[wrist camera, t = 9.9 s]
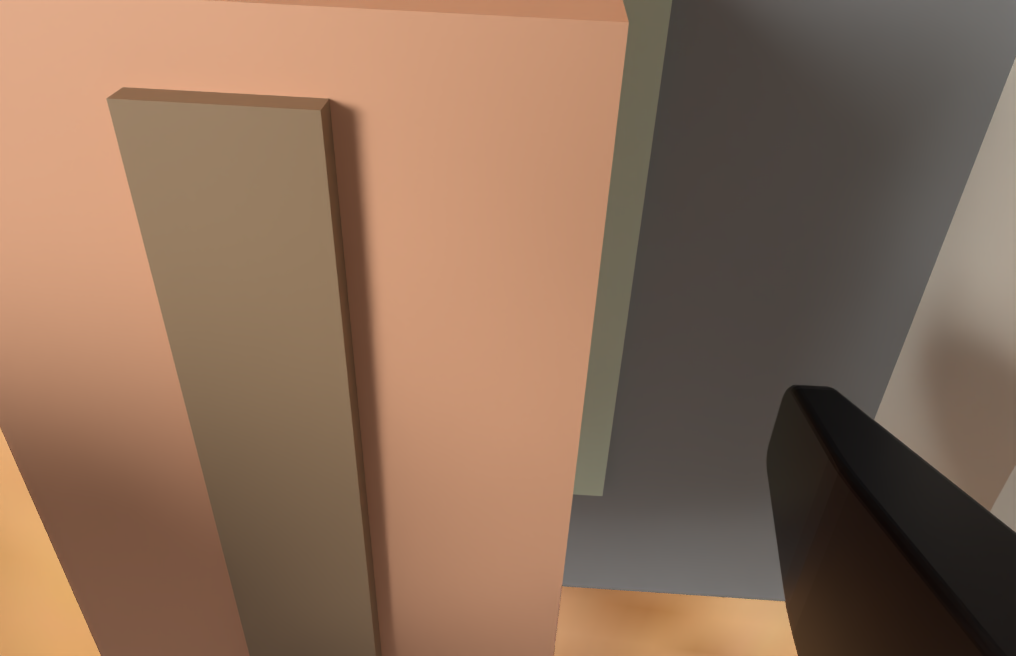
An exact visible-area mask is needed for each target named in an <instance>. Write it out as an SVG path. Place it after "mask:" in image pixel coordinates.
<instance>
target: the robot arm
mask: <svg viewBox="0 0 1016 656" xmlns="http://www.w3.org/2000/svg"><path fill="white" fill-rule="evenodd" d="M766 467H767V476H768V483H769V490H770V498H771V505H772V512H773V519H774V526H775V533H776V541H777V548H778V555H779V562H780V569H781V576H782V583H783V590H784V596H785V602H786V608H787V613H788V618H789V622H790V626H791V630H792V635H793V639H794V642H795V646H796V650H797V654H798V656H1016V532H1015V531H1013V530H1012V529H1011V528H1010V527H1008V526H1007V525H1006V524H1005V523H1003V522H1002V521H1001V520H1000V519H998V518H997V517H996V516H995V515H993V514H992V513H991V512H990V511H988V510H987V509H986V508H985V507H983V506H982V505H981V504H979V503H978V502H977V501H976V500H974V499H973V498H972V497H971V496H969V495H968V494H967V493H966V492H964V491H963V490H962V489H961V488H959V487H958V486H957V485H956V484H954V483H953V482H952V481H951V480H949V479H948V478H947V477H945V476H944V475H943V474H942V473H940V472H939V471H938V470H937V469H935V468H934V467H933V466H932V465H930V464H929V463H928V462H927V461H925V460H924V459H923V458H922V457H920V456H919V455H918V454H917V453H915V452H914V451H913V450H911V449H910V448H909V447H908V446H906V445H905V444H904V443H903V442H901V441H900V440H899V439H898V438H896V437H895V436H894V435H893V434H891V433H890V432H889V431H888V430H886V429H885V428H884V427H883V426H881V425H880V424H879V423H877V422H876V421H875V420H874V419H872V418H871V417H870V416H869V415H867V414H866V413H865V412H864V411H862V410H861V409H860V408H859V407H857V406H856V405H855V404H854V403H852V402H851V401H850V400H849V399H847V398H846V397H845V396H843V395H842V394H841V393H840V392H838V391H837V390H835V389H834V388H831V387H828V386H812V385H792V386H791V387H789V388H787V390H786V391H785V393H784V395H783V397H782V400H781V404H780V407H779V410H778V414H777V417H776V421H775V424H774V427H773V431H772V434H771V438H770V441H769V444H768V449H767V458H766Z"/></svg>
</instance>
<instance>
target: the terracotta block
mask: <svg viewBox="0 0 1016 656" xmlns="http://www.w3.org/2000/svg"><path fill="white" fill-rule="evenodd" d="M628 26H629V21H628V17H627V14H626V10H625V7H624V3H623V0H0V427H1V430H2V432H3V434H4V437H5V439H6V441H7V443H8V446H9V448H10V450H11V452H12V455H13V457H14V459H15V461H16V464H17V466H18V468H19V471H20V473H21V475H22V477H23V480H24V482H25V484H26V486H27V489H28V491H29V493H30V496H31V498H32V500H33V502H34V505H35V507H36V509H37V511H38V514H39V516H40V518H41V520H42V523H43V525H44V527H45V530H46V532H47V534H48V536H49V539H50V541H51V543H52V545H53V548H54V550H55V552H56V554H57V557H58V559H59V561H60V564H61V566H62V568H63V570H64V573H65V575H66V577H67V579H68V582H69V584H70V586H71V589H72V591H73V593H74V595H75V598H76V600H77V602H78V604H79V607H80V609H81V611H82V613H83V616H84V618H85V620H86V623H87V625H88V627H89V629H90V632H91V634H92V636H93V638H94V641H95V643H96V645H97V647H98V650H99V652H100V654H101V656H554V650H555V641H556V633H557V624H558V616H559V607H560V599H561V591H562V582H563V574H564V565H565V557H566V549H567V540H568V532H569V523H570V515H571V506H572V498H573V490H574V481H575V473H576V464H577V456H578V447H579V439H580V431H581V422H582V414H583V405H584V397H585V389H586V380H587V372H588V363H589V355H590V346H591V338H592V330H593V321H594V313H595V304H596V296H597V287H598V279H599V271H600V262H601V254H602V245H603V237H604V228H605V220H606V212H607V203H608V195H609V186H610V178H611V170H612V161H613V153H614V144H615V136H616V127H617V119H618V111H619V102H620V94H621V85H622V77H623V68H624V60H625V52H626V43H627V35H628Z"/></svg>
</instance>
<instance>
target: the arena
mask: <svg viewBox="0 0 1016 656" xmlns="http://www.w3.org/2000/svg"><path fill="white" fill-rule="evenodd" d="M623 3H624V7H625V10H626V14H627V17H628V21H629V26H628V35H627V43H626V52H625V60H624V68H623V77H622V85H621V94H620V102H619V111H618V119H617V127H616V136H615V144H614V153H613V161H612V170H611V178H610V186H609V195H608V203H607V212H606V220H605V228H604V237H603V245H602V254H601V262H600V271H599V279H598V287H597V296H596V304H595V313H594V321H593V330H592V338H591V346H590V355H589V363H588V372H587V380H586V389H585V397H584V405H583V414H582V422H581V431H580V439H579V447H578V456H577V464H576V473H575V481H574V490H573V498H572V506H571V515H570V523H569V532H568V540H567V549H566V557H565V565H564V574H563V582H562V586H567V587H582V588H597V589H612V590H627V591H642V592H656V593H671V594H686V595H701V596H716V597H731V598H745V599H760V600H775V601H785V596H784V590H783V583H782V576H781V569H780V562H779V555H778V548H777V541H776V533H775V526H774V519H773V512H772V505H771V498H770V490H769V483H768V476H767V467H766V458H767V449H768V444H769V441H770V438H771V434H772V431H773V427H774V424H775V421H776V417H777V414H778V410H779V407H780V404H781V400H782V397H783V395H784V393H785V391H786V390H787V388H789V387H791V386H792V385H812V386H828V387H831V388H834V389H835V390H837V391H838V392H840V393H841V394H842V395H843V396H845V397H846V398H847V399H849V400H850V401H851V402H852V403H854V404H855V405H856V406H857V407H859V408H860V409H861V410H862V411H864V412H865V413H866V414H867V415H869V416H870V417H871V418H872V419H874V420H875V421H876V422H877V423H879V424H880V425H881V426H883V427H884V428H885V429H886V430H888V431H889V432H890V433H891V434H893V435H894V436H895V437H896V438H898V439H899V440H900V441H901V442H903V443H904V444H905V445H906V446H908V447H909V448H910V449H911V450H913V451H914V452H915V453H917V454H918V455H919V456H920V457H922V458H923V459H924V460H925V461H927V462H928V463H929V464H930V465H932V466H933V467H934V468H935V469H937V470H938V471H939V472H940V473H942V474H943V475H944V476H945V477H947V478H948V479H949V480H951V481H952V482H953V483H954V484H956V485H957V486H958V487H959V488H961V489H962V490H963V491H964V492H966V493H967V494H968V495H969V496H971V497H972V498H973V499H974V500H976V501H977V502H978V503H979V504H981V505H982V506H983V507H985V508H986V509H987V510H988V511H990V512H991V513H992V514H993V515H995V516H996V517H997V518H998V519H1000V520H1001V521H1002V522H1003V523H1005V524H1006V525H1007V526H1008V527H1010V528H1011V529H1012V530H1013V531H1015V532H1016V0H623Z"/></svg>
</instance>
